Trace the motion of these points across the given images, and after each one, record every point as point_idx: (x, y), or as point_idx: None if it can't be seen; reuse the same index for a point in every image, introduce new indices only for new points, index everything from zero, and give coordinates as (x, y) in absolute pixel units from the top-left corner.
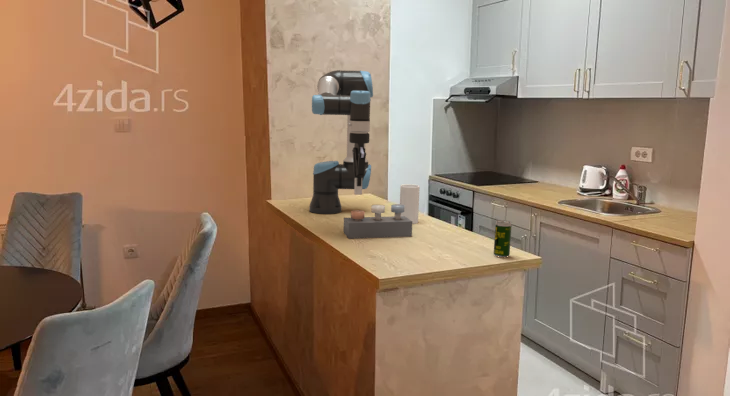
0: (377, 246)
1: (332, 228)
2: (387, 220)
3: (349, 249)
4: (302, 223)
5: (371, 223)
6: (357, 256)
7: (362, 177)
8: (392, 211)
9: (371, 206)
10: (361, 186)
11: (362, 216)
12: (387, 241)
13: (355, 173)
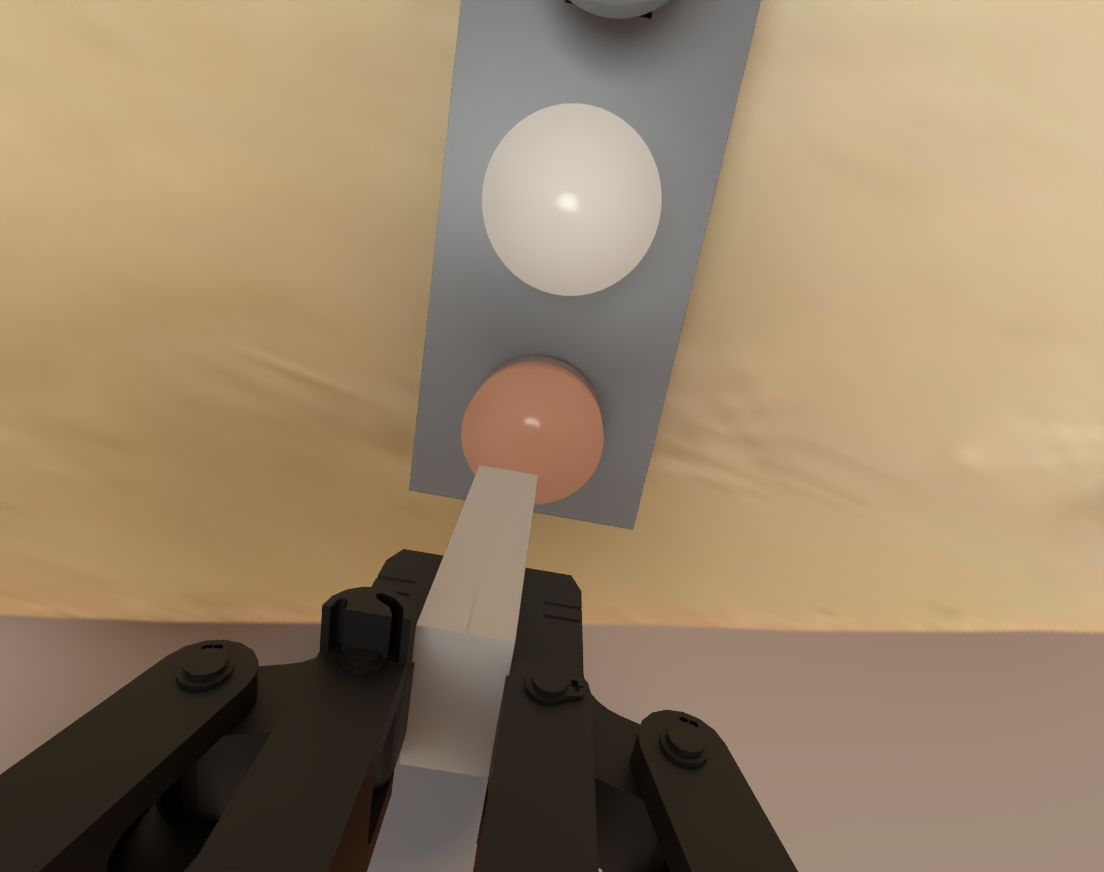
0: (904, 374)
1: (291, 470)
2: (650, 124)
3: (880, 570)
4: (107, 604)
5: (679, 332)
6: (1047, 586)
7: (575, 673)
8: (639, 13)
9: (547, 291)
10: (525, 545)
11: (597, 403)
12: (809, 234)
13: (373, 834)
